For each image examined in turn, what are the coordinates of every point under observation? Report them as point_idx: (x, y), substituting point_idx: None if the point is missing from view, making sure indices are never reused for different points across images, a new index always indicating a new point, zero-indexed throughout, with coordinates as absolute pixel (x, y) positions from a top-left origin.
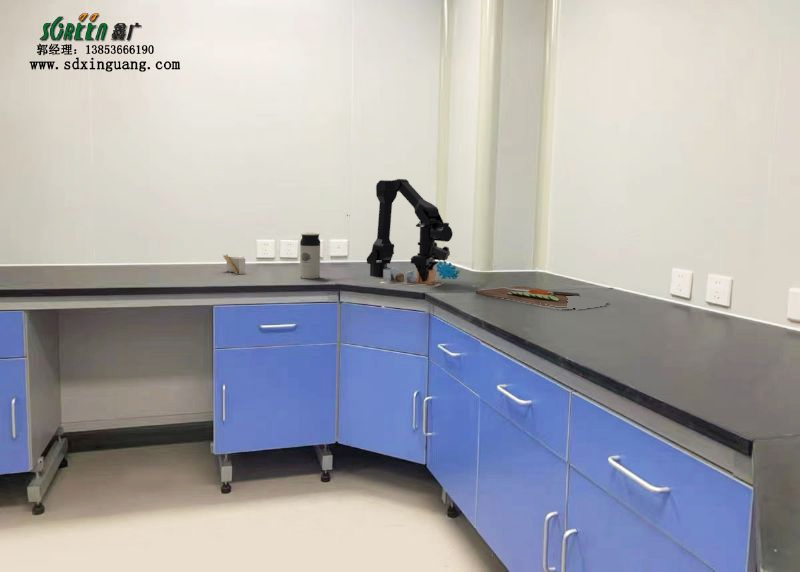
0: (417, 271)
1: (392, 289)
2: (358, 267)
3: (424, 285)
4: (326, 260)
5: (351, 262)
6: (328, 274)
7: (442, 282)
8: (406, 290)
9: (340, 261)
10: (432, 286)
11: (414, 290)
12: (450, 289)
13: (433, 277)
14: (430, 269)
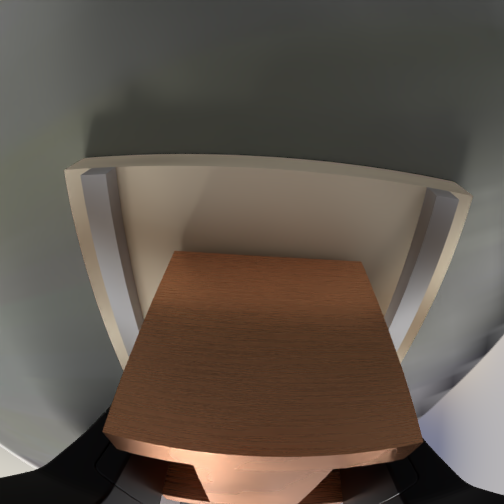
0: (337, 486)
1: (421, 405)
2: (31, 454)
3: (415, 304)
4: (34, 468)
5: (9, 449)
6: (166, 500)
7: (102, 173)
8: (453, 354)
9: (19, 457)
10: (444, 217)
11: (452, 321)
12: (261, 3)
13: (252, 321)
14: (229, 476)
